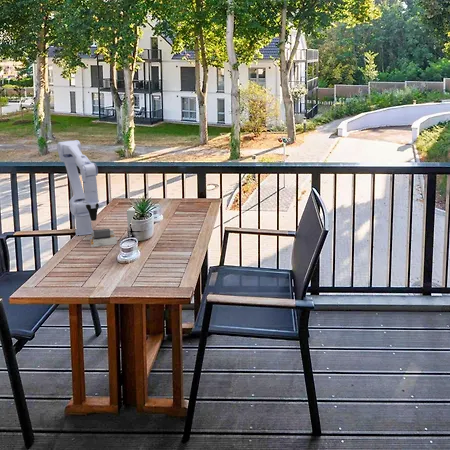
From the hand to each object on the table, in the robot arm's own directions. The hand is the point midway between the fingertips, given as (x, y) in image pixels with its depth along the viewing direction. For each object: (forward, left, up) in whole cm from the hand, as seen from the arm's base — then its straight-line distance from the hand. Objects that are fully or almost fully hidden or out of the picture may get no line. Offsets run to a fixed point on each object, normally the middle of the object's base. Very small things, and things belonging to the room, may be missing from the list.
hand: (93, 220), depth 288 cm
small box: (-10, +20, -10) cm, 24 cm away
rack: (+3, +3, -9) cm, 10 cm away
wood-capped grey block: (+6, +3, -8) cm, 11 cm away
